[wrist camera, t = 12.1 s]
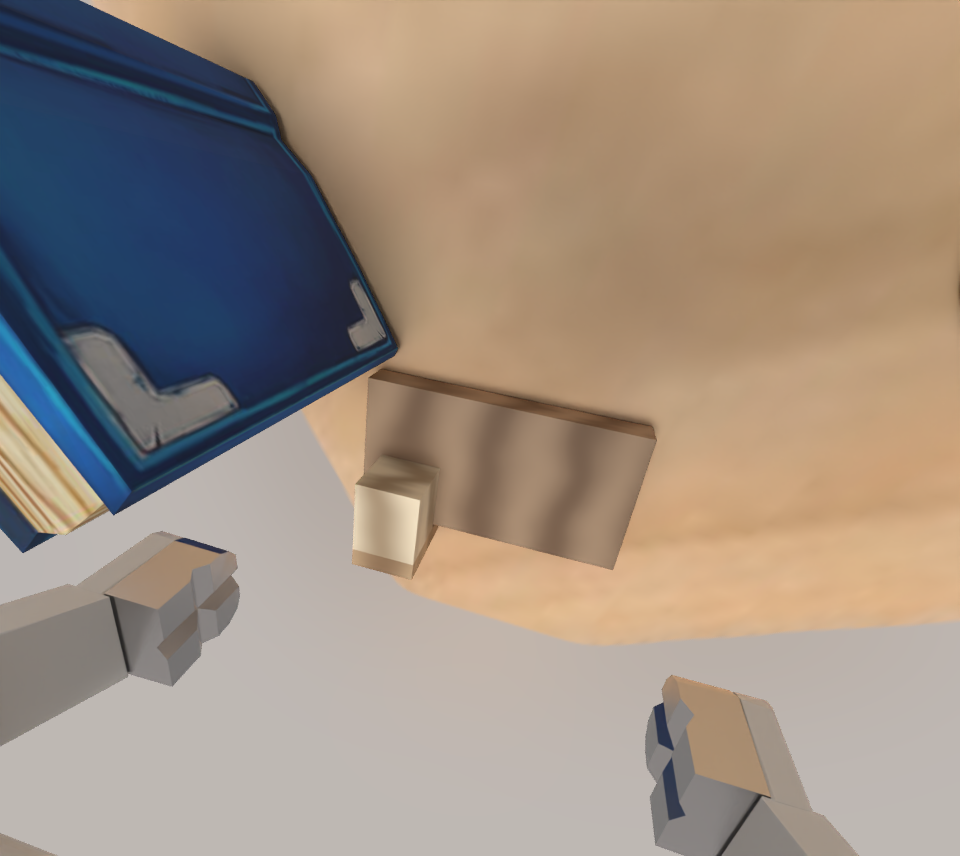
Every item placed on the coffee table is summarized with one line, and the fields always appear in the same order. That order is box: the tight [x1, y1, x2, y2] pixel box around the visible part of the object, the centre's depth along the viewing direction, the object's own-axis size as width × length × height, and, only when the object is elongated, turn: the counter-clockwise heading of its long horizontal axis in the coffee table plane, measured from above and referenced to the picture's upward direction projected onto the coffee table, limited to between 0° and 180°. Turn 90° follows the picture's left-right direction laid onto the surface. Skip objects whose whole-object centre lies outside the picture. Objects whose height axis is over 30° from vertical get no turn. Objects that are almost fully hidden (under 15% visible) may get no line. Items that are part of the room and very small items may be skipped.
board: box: [364, 369, 657, 570], centre depth 39 cm, size 22×12×2 cm, turn 82°
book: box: [0, 0, 398, 553], centre depth 25 cm, size 22×7×25 cm, turn 26°
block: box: [352, 455, 440, 580], centre depth 39 cm, size 5×8×7 cm, turn 172°
